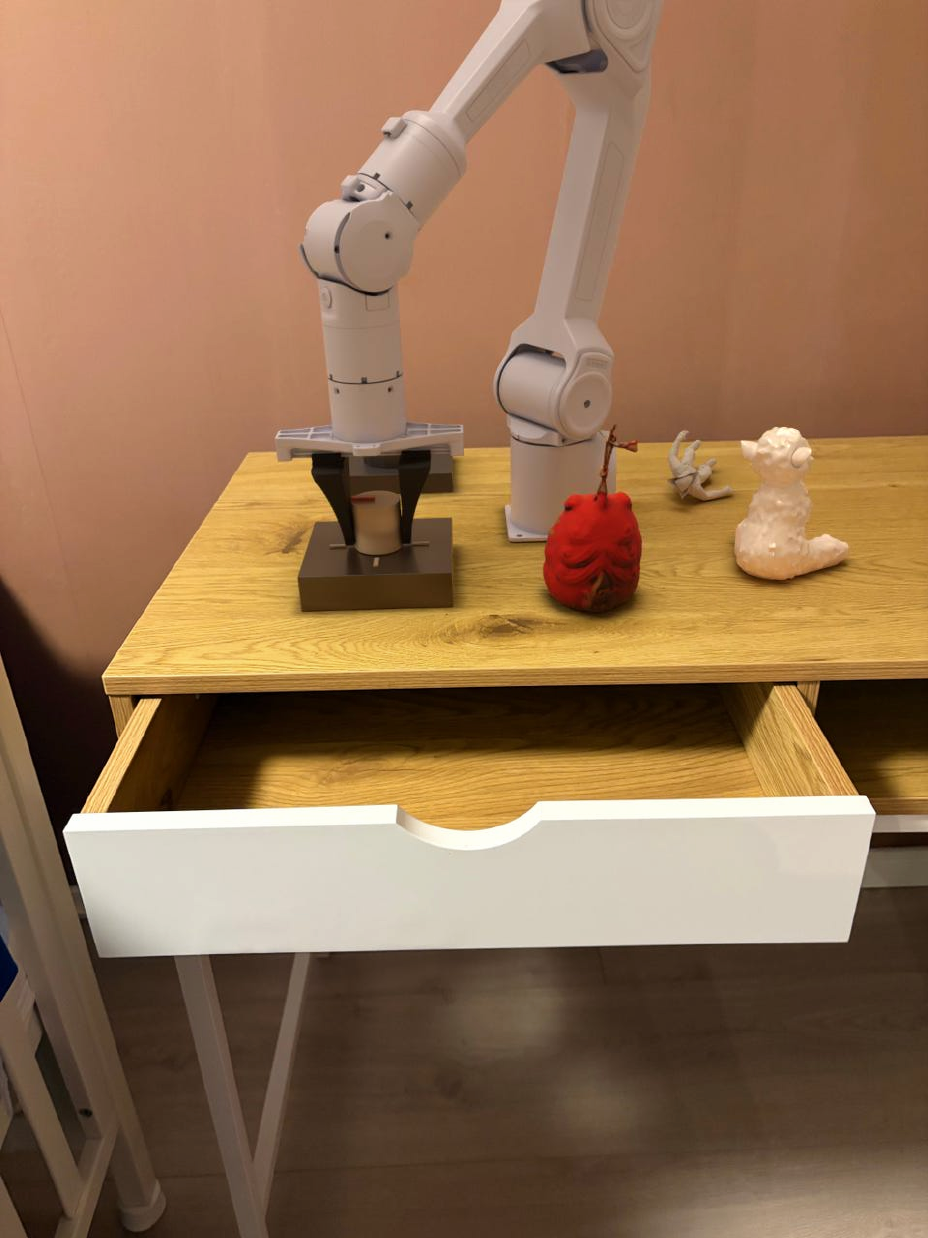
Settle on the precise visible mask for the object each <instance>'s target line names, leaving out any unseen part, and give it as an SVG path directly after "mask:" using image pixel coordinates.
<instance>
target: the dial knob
mask: <svg viewBox="0 0 928 1238" xmlns="http://www.w3.org/2000/svg"><path fill="white" fill-rule="evenodd" d="M351 510H352V521H353V530H354V541H355V548H356V550H357V551H359V552H361V553H364V554H369V555H383V554H389V553H392V552H395V551H397V550H399V549H400V548H401V547H402V546H403V544H402V536H401V527H402V504H401V495H400V494H396V493H393V492H389V491H369V492H364V493H361V494H358V495H356V496H351Z"/></svg>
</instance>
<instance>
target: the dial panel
mask: <svg viewBox="0 0 928 1238" xmlns="http://www.w3.org/2000/svg"><path fill="white" fill-rule="evenodd" d="M453 535H454V532H453V517H427V518H424V517H423V518H422V517H421V518H420V517H419V518H413V523H412V537H411V543H410V544H403V546H402V547H401V548H400V549H399V550H397V551H395V552H392V553H389V554H383V555H369V554H364V553H361V552H359V551H357V550H356V548H355V543H354V545H353V546H346V545H345V540H344V537H343V533H342V530H341V527H340V525H339V522H338V520H333V521H331V520H329V521H315V522H314V525H313V528H312V532H311V534H310V537H309V540H308V543H307V547H306V549H305V553H304V556H303V559H302V562H301V564H300V568H299V571H298V574H297V578H296V579H297V587H298V594H299V595H298V596H299V601H300V610H301V612H316V611H319V612H321V611H349V610H350V611H351V610H352V611H353V610H380V609H381V610H384V609H385V610H386V609H416V608H443V607H445V608H446V607H448V608H449V607H454V536H453Z"/></svg>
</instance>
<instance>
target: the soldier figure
mask: <svg viewBox="0 0 928 1238" xmlns="http://www.w3.org/2000/svg"><path fill="white" fill-rule="evenodd" d="M687 434H689V431H688V430H682V431H680V432H679V433H678V434H677V436H676V438H675V440H673V443H672V445H671V448H670V451H669V453H668V457H667V462H668V465H669V470H670V471H671V474H672V476H673V477H669V478H667V479H666V481H667V483H670V484H671V485H672V486H673V487H674V488H675V489H676V490H677V491H678V494H679V496H680V498H681V500H683V499H684V497H686V496H687V495H690V496H692V497H694V498H695V499H699V500H700V501H704V502H705V501H709V500H715V499H717V498H722V497H723V496H727V495H729V494H730V493H732V492H734V491H735V490H734V487H733V486H731V485H730V484H729V485H726V486H725V487H724V486H723V488H722V489H716V490H705V489H704V488H703V487H702V485H701V484H703V483H704V482H706V480H707V479H708V478H711V477H712V476H713V469H712V468H714V467H715V466H716V464H717V462H718V461H717V459H716V458H715V457H714V458H710V459H708V460H707V461H706V462H704V463H701V464H700V465H698V466H697V468H695V466H694V465H695V460H696V451H697V450H699V449H700V447H701V445H702V441H701V440H700V439H697V440H695V441H693V442H692V443H691V444H690V445H689V446H687V447H686V448H685V449H684V450H683V451H682V453H683V456H682V458H681V460H679V459H678V455H679V451H680V446H681V443H682V442H683V441H687V440H688V439H687V437H686V435H687Z"/></svg>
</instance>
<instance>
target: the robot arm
mask: <svg viewBox="0 0 928 1238" xmlns="http://www.w3.org/2000/svg"><path fill="white" fill-rule="evenodd" d="M664 5H665V0H501V2H500V5H499V9H498V11H497V12H496V14H495V16H494V17H493V19H492V20H491V22H490V23H489V24H488V26H487V27H486V28H485V30H484V31H483V32H482V34H481V36H480V37H479V39H478V40H477V41H476V43H475V44H474V46H473V47H472V49H471V50H470V51H469V53H468V54H467V56H466V57H465V59H464V60H463V62H462V63H461V64H460V66H459V67H458V69H457V70H456V71H455V73H454V74H453V76H452V77H451V78H450V80H449V81H448V83H447V84H446V86H445V87H444V88H443V90H442V91H441V93H440V94H439V96H438V97H437V99H436V100H435V102H434V103H433V104H432V106H431V107H430V109H429V110H418V109H417V110H416V109H415V110H408V111H406V112H404V113H403V115H402V116H392V117H389V118H388V120H387V121H386V122H385V124H383V126H382V127H381V128H380V132H381V134H382V135H383V136H384V139H383V140H382V141H381V142H380V144H379V145H378V147H376V149H375V150H374V151H373V153H371V155H370V157H368V159H367V160H366V161H365V162H364V164H363V165H362V166H361V167H360V168H359V170H358V171H357V172H356V174H355V175H353V174H348V175H347V176H346V177H345V178H344V179H343V181H342V182H341V184H340V188H341V190H342V192H341V199H331V201H326V202H324V203H322V204H320V205H319V206H318V207H317V208H316V209H315V210H314V211H313V212H312V213H311V214H310V216H309V218H308V220H307V222H306V224H305V225H306V226H305V230H306V231H305V234H304V235H303V242H301V243H298V252H299V256H300V259H301V261H302V263H303V265H304V267H305V269H306V270H307V272H308V273H309V274H310V275H311V276H312V277H313V278H314V280H315V282H316V284H317V288H318V297H319V306H320V319H321V320H320V321H321V329H322V337H323V349H324V358H325V360H324V361H325V369H326V377H327V379H326V380H327V388H328V389H327V390H328V399H329V408H330V409H329V410H330V417H331V419H330V420H331V424H327V425H319V426H312V427H305V428H297V429H283V430H278V431H277V433H276V435H275V437H274V444H275V451H276V453H275V454H276V458H277V460H276V461H277V462H278V463H282V462H283V463H285V462H286V463H287V462H292V461H293V459H311V469H310V473H311V476H312V479H313V481H314V482H315V484H316V485H317V487H318V488H319V489H320V491H321V492H322V494H323V495H324V497H325V499H326V500H327V501H328V504H329V506H330V507H331V509H332V511H333V513H334V515H335V517H336V521H338V522H339V525H340V527H341V530H342V533H343V537H344V540H345V545H346V546H353V545H354V543H355V541H354V530H353V521H352V510H351V488H350V471H349V457H353V456H385V455H400V460H399V465H398V474H399V483H400V493H401V494H400V499H401V514H402V527H401V536H402V544H410V543H411V537H412V523H413V519H415V518H414V517H415V513H416V509H417V506H418V503H419V499H420V497H421V494H422V493H421V491H422V489H423V486H424V484H425V482H426V480H427V477H428V475H429V472H430V469H431V454H447V453H450V455H451V456H453V457H464V456H465V438H464V437H465V436H464V433H465V432H464V424H445V423H444V424H440V423H429V422H428V423H427V422H415V421H407V415H406V413H407V412H406V398H405V397H406V396H405V380H404V366H403V364H404V363H403V353H402V352H403V350H402V349H403V348H402V332H401V316H400V301H399V284H398V282H400V280H402V278H404V277H406V276H407V275H408V273H409V271H410V268H411V265H412V263H413V258H414V246H415V245H414V244H415V241H416V239H417V237H418V235H419V234H420V231H421V230H422V229H423V228H424V226H425V225H426V224H427V223H428V221H429V220H430V219H431V217H432V216H433V215H434V213H435V212H436V211H437V210H438V208H440V206H441V204H442V203H443V202H444V201H445V200H446V198H447V197H448V195H449V194H450V193H451V192H452V191H453V190H454V188H455V187H456V186H457V184H458V183H459V181H461V180H462V178H463V177H464V175H466V171H467V168H468V167H467V166H468V165H467V164H468V163H467V162H468V161H467V149H466V147H467V145H468V143H469V142H470V141H471V140H472V139H473V138H474V137H475V136H476V134H477V133H479V131H480V130H481V129H482V127H483V126H484V125H486V124H487V122H488V121H489V120H490V118H492V117H493V116H494V114H495V113H496V112H497V111H498V110H499V108H501V106H502V105H504V103H505V102H506V101H507V100H508V99H509V98H510V96H511V95H512V94H513V93H514V92H515V91H516V90H517V88H518V87H519V86H520V85H521V84H522V83H523V81H524V80H525V79H526V78H527V77H528V76H529V75H530V74H531V72H533V70H534V69H535V68H536V67H538V66H539V65H542V66H543V68H544V69H546V71H547V72H548V73H549V74H550V75H551V76H552V77H553V78H554V79H555V80H556V82H557V83H559V84H560V86H561V87H562V88H563V89H564V90H566V92H567V94H568V96H569V98H570V100H571V102H572V104H573V105H574V107H575V111H576V112H575V117H574V122H573V127H572V130H571V131H572V132H571V137H570V141H569V146H568V151H567V154H566V155H567V156H566V160H565V165H564V169H563V175H562V179H561V184H560V188H559V193H558V197H557V202H556V208H555V213H554V217H553V222H552V226H551V230H550V235H549V241H548V244H547V245H548V246H547V249H546V255H545V260H544V264H543V269H542V274H541V278H540V283H539V288H538V292H537V297H536V298H537V299H536V302H535V307H534V311H533V313H532V314H531V315H530V316H529V317H528V318H526V319H525V320H524V321H523V322H522V323H520V324H519V325H518V326H517V327H516V328H515V329H514V330H513V331H512V333H511V336H510V341H509V345H508V348H507V350H506V353H505V355H504V356H503V358H502V360H501V361H500V363H499V364H498V365H497V368H496V370H495V374H494V377H493V382H492V394H493V398H494V401H495V404H496V406H497V408H498V409H499V410H500V411H501V413H502V414H505V416H506V427H507V428H509V431H510V434H509V443H510V444H509V445H510V451H509V452H510V504H506V505H505V506H504V514H505V515H504V516H505V523H506V530H507V538H508V541H509V542H511V543H523V542H525V543H526V542H547V537H548V533H549V530H550V529H551V528H552V527H553V526H554V524H555V522H556V520H557V519H558V517H559V516H560V515H561V514H562V513H563V512H564V510H565V507H564V503H565V501H566V500H567V499H568V498H569V497H570V496H571V495H573V494H578V495H586V494H596V491H597V489H598V487H599V484H600V481H601V477H600V475H599V467H601V466H602V465H604V453H605V445H606V439H605V438H604V437H603V436H602V435H601V434H600V433H599V432H598V429H600V430H601V431H602V432H603V434H604V435H605V436H607V437H608V436H609V431H610V430H605V429H601V427H603V425H604V424H605V422H606V420H607V418H608V416H609V413H610V411H611V408H612V404H613V386H612V373H613V372H612V370H613V366H614V363H615V362H614V361H615V356H616V355H615V353H614V351H613V349H612V348H611V346H610V345H609V343H608V341H607V340H606V338H605V337H604V334H603V333H602V332H601V330H600V328H599V320H600V317H601V312H602V308H603V304H604V299H605V297H606V296H605V295H606V291H607V287H608V283H609V278H610V274H611V269H612V266H613V261H614V256H615V253H616V248H617V245H618V240H619V236H620V233H621V232H620V231H621V226H622V223H623V218H624V214H625V210H626V205H627V201H628V196H629V193H630V188H631V185H632V179H633V176H634V173H635V167H636V163H637V159H638V154H639V150H640V146H641V142H642V138H643V134H644V129H645V125H646V120H647V116H648V111H649V108H650V103H651V96H652V56H653V52H654V47H655V43H656V39H657V34H658V29H659V25H660V21H661V16H662V12H663V9H664ZM555 353H558V354H560V355H561V356H562V357H561V356H557V355H554V354H555ZM608 469H609V471H608V475H607V478H606V484H607V492H608V494H615V493H616V485H617V447H614V448H613V449H612V453H611V456H610V460H609V465H608Z"/></svg>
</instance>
